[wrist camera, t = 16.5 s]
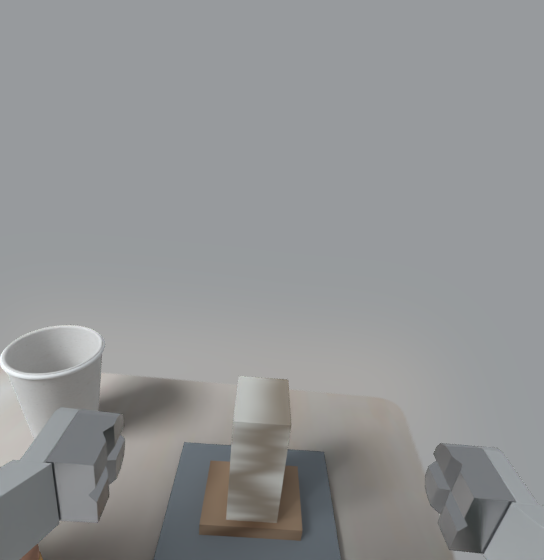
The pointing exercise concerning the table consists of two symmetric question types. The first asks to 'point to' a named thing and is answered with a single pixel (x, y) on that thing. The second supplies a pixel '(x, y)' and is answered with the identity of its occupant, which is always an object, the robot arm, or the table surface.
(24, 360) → the dixie cup
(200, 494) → the slate mat
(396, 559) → the table surface
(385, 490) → the table surface
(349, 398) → the table surface
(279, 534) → the pale pillar on plinth
